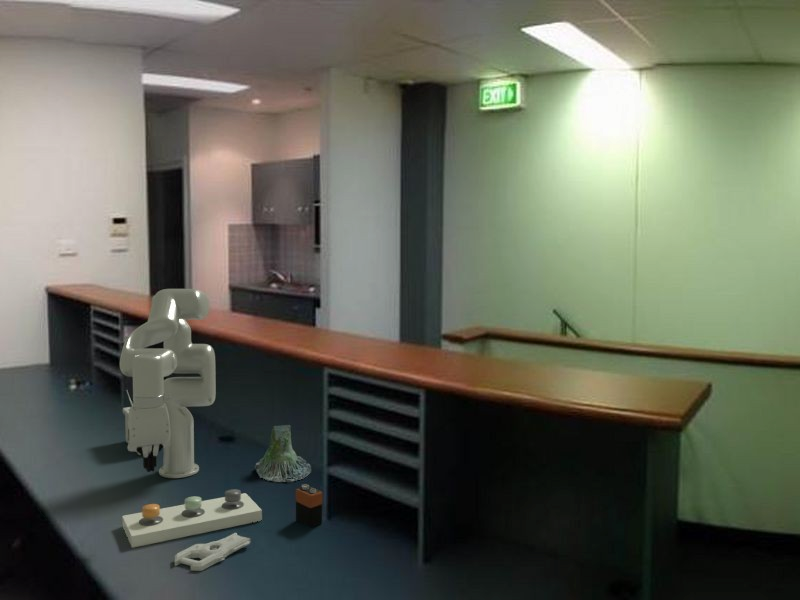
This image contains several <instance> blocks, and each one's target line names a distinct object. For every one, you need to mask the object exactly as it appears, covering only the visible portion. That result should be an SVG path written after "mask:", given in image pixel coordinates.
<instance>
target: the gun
mask: <svg viewBox="0 0 800 600" xmlns="http://www.w3.org/2000/svg"><path fill="white" fill-rule="evenodd" d="M251 543H252V541H251V538H250V537H245V536H242V535H238V533H237V532H234V533H232V534H230V535H228V536H226V537H224V538H221V539H219V540H216V541H214V540H213V541H210V542H208V543H195V544H193V545H191V546H190V547H187V548H186V549H182V550H181V551H179V552H178V553H176V554H174V567H176V566H179V565H182V564H183V565H187V566H190V571H195V572H202V571H204V570H206V569H208V568H210V567H211V566H214V565H215V564H217V563H219V562H222V561H224V560H226V558H227V557H228V556H230V555H232V554H234V553H235V552H237V551H239V550H241V549H243V548H245V547H246V546H248V545H250V544H251ZM195 559H200V560H195Z"/></svg>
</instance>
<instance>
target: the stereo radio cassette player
mask: <svg viewBox="0 0 800 600" xmlns="http://www.w3.org/2000/svg"><path fill="white" fill-rule="evenodd" d="M125 391H126V393H127V395H128V396H127V397H128V400H129V403H130V405H131V406H128V407H123V408H122V413H123V415H124V419H125V420H124V425H125V427H124V428H125V429H124V431H125V442H126V443H127V444H128V443H129V442H128V436H127V434H128V417H129V410H130V407H132V406H133V401H132V400H131V399H132V398H131V397H130V394H129V392H128V389H125ZM151 448H152V445H149V446H147V450H148V454H150V452H151ZM136 454H137V455H138V456H142V455H141V454H140V453H139V452H136Z"/></svg>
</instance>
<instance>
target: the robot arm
mask: <svg viewBox="0 0 800 600" xmlns="http://www.w3.org/2000/svg"><path fill="white" fill-rule="evenodd" d="M209 312H210V300H209V297H208V295H207V294H206V293H205V292H204V291H202V290H199V289H197V288H165V289H161V290H159V291H157V292H156V293H155V294H154V295H153V296H152V298H151V307H150V311H149V315H148V319H147V321H146V322H145V323H143V324H141V325H140V326H138V327H137V328H136V329H134V330H133V331H132V332H131V333H129V335H128V336H127V337H126V339H125V340H124V342H123V346H122V350H121V354H120V358H119V369H120V371H121V373H122V375H124V376H125V377H129V378H130V377H131V378H132V400H133V401H132V404H133V406H132V405H131V406H129V407H130V410H129V417H128V434H127V436H128V442H129V443H127V451H128V452H136V453H137V452H139V453H140V454H141V455H140V456H141V457H142V462H143V463H142V466H143V469H145V471H146V472H147V473H150V472H155V468H156V467H157V456H158V454H159V453H160V451H163V465H162V466H161V467H160V468H159V469H158V475H160V476H161V477H162V478H163V477H164V478H167V479H181V478H187V477H191V476H193V475H195V474H197V473H198V472H199V471H200V467H199V465H198V464H197V463H195V440H194V439H195V436H194V435H195V432H194V429H195V428H194V425H195V424H194V423H195V422H194V417H193V415H192V413H191V411H190V410H189V409H188V408H187V407H208V406H211V405H213V404H214V403H215V400H216V395H217V393H216V391H217V390H216V389H217V388H216V387H217V385H216V382H217V381H216V375H217V373H216V354H215V349H214V348H213V347H212V345H210V344H207V343H193V342H192V329H191V326H190V324H189V323H188V322H187V320H196V321H197V320H200V321H201V320H205V319H206V318H207V316H208V315H209ZM162 342H163V348H148V347H150V346H154V345H157V344H160V343H162ZM172 374H199V376H174V377H169V376H170V375H172ZM165 377H168V378H166V379H164V378H165ZM149 445H152V448H151V452H150V454H148V450H147V446H149Z"/></svg>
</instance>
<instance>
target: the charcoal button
mask: <svg viewBox="0 0 800 600" xmlns="http://www.w3.org/2000/svg"><path fill="white" fill-rule="evenodd" d="M241 494H242V491H241V490H240V489H238V488H237V489H236V488H235V489H234V488H233V489H228V490H225V491H224V497H225V501H226V502H237V501H239V500H241Z"/></svg>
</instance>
